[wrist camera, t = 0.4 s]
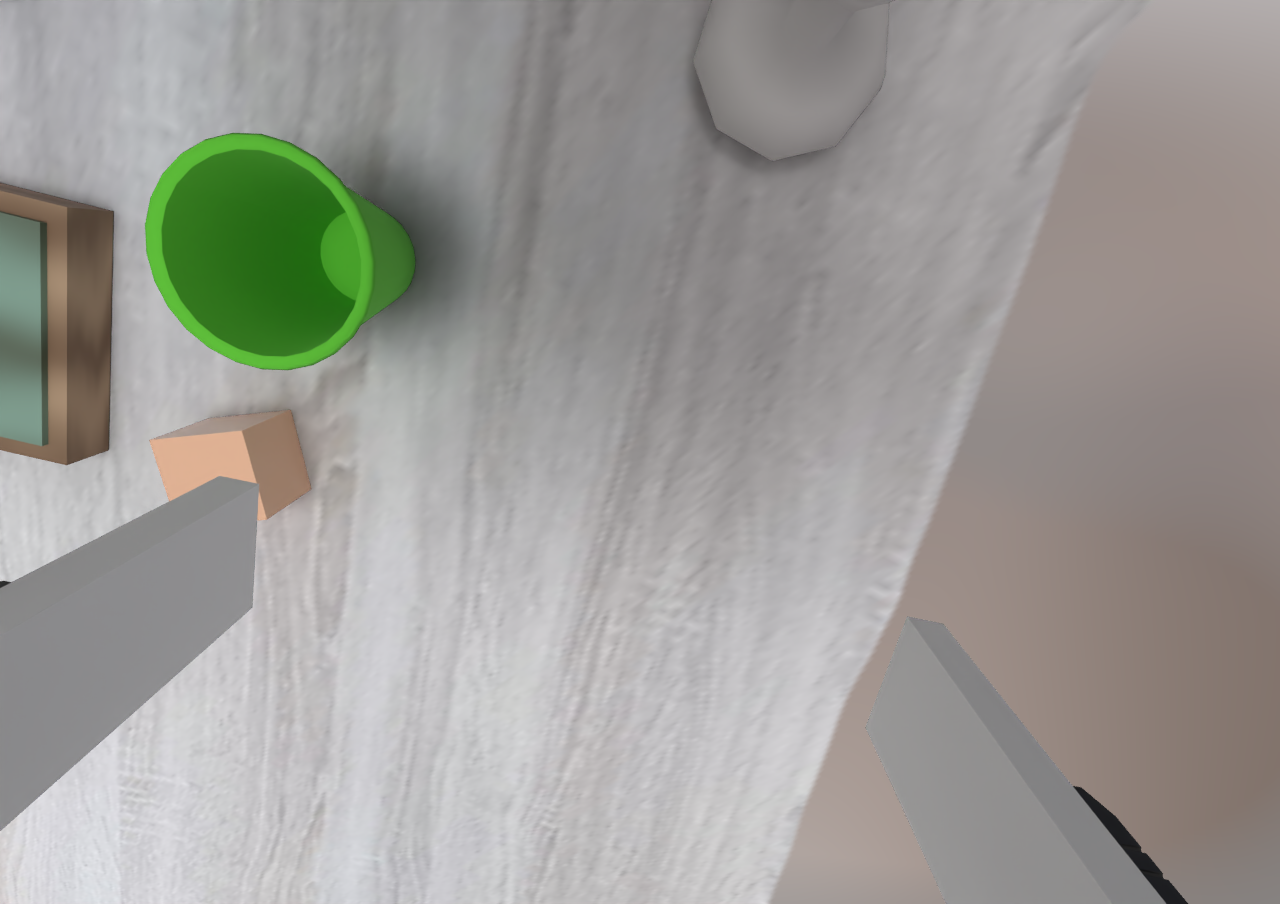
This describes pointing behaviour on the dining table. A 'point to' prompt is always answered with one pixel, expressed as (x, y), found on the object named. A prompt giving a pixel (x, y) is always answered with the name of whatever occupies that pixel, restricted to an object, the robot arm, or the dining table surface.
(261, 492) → the terracotta block
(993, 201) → the dining table surface
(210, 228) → the cup
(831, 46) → the potion bottle
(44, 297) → the tray
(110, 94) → the dining table surface
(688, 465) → the dining table surface
